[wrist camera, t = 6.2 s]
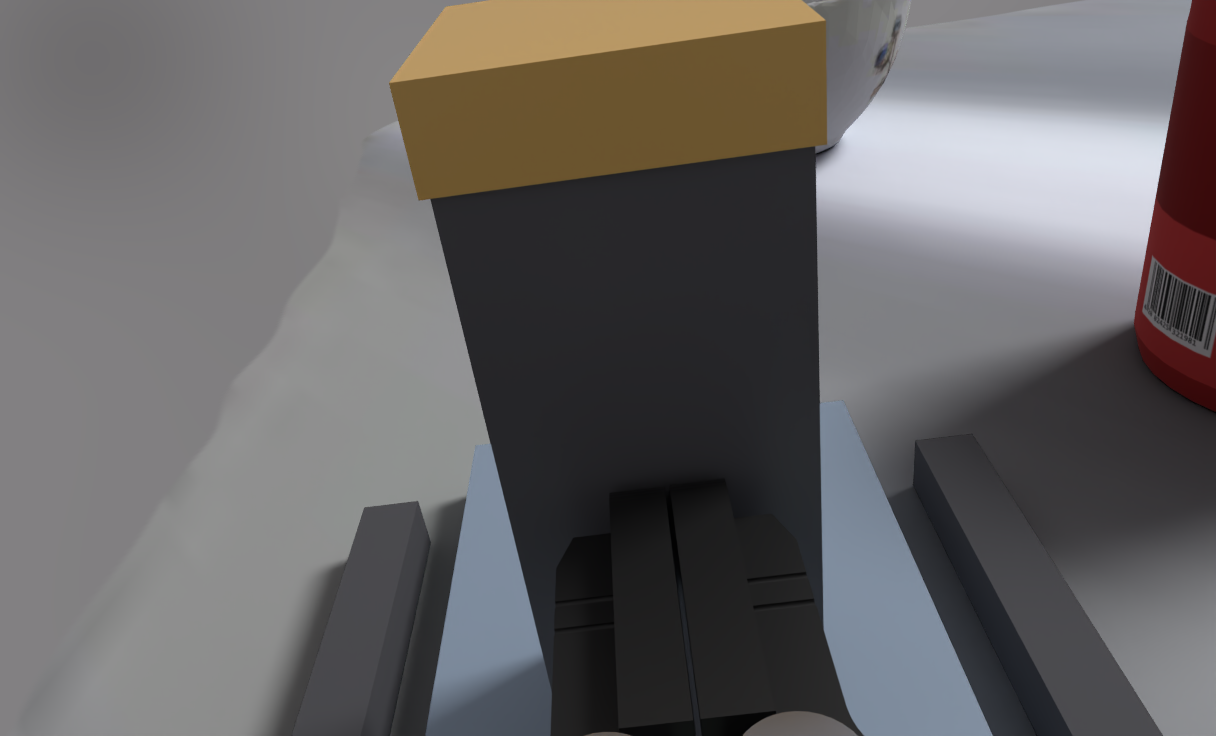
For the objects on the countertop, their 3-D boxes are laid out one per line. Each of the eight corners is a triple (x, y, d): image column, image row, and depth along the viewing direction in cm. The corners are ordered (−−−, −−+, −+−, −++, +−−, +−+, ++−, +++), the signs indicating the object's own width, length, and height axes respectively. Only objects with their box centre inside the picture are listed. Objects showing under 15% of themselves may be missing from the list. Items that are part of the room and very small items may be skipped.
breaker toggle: (834, 785, 15) (825, 20, 9) (573, 811, 15) (390, 82, 9) (785, 594, 18) (754, -40, 12) (575, 617, 18) (445, 6, 12)
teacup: (939, 109, 49) (948, -53, 45) (865, 196, 40) (867, 4, 36) (687, 103, 56) (675, -37, 52) (579, 174, 48) (554, 13, 44)
